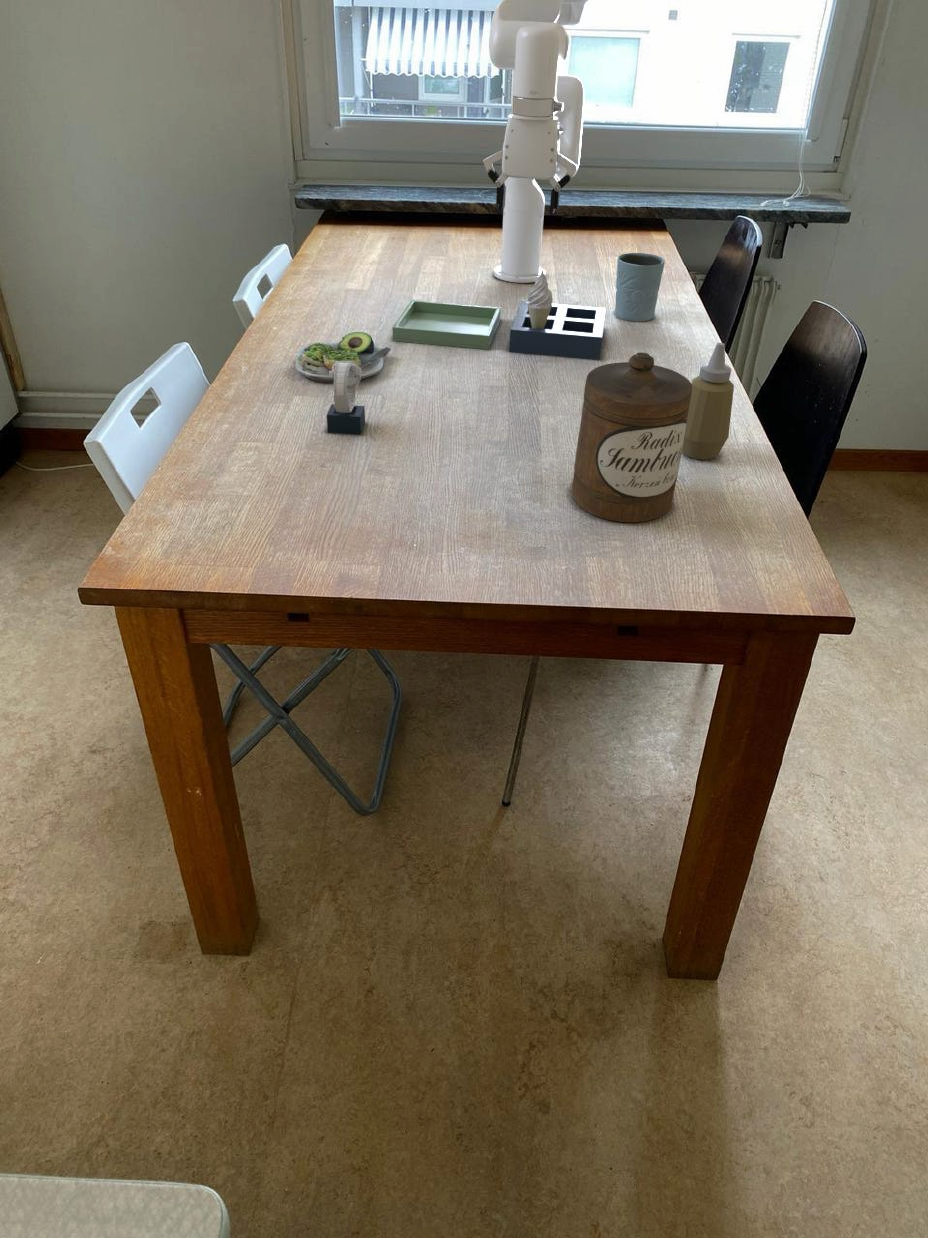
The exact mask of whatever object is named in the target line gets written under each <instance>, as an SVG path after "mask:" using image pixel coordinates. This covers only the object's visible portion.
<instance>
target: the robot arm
mask: <svg viewBox="0 0 928 1238" xmlns="http://www.w3.org/2000/svg"><path fill="white" fill-rule="evenodd" d="M590 3H591V0H501V1H500V2H499V3H498V5H497V6H496V8H495V9H494V12H493V14H492V17H491V22H490V31H489V39H488V40H489V41H488V49H489V50H488V53H489V58H490V61H491V63H492V65H493V66H494V67H495V68H497V69H499V70H505V71H512V86H511V112H512V114H509V115H508V117H507V123H506V127H505V131H504V132H505V133H504V139H503V143H502V150H500V151H497V152H495V153H494V154H492V155H489V156H488V157H486V158H484V159H483V161H482V163H483V165H484V168H485V171H486V173H487V176H488V177H489V179H490V180H491V181H492V182H493V184H494V186H495V187H496V195H495V196H496V197H495V204H496V205H497V206H498V211H500V212H501V211H503V212H502V213H503V214H502V232H501V252H500V253H501V254H500V265H498V266H496V267H494V269H493V275H494V277H495V278H497V279H499V280H502V281H505V282H509V283H517V284H518V283H519V284H530V283H535V282H536V281H537V280H538V278H539V276H540V274H541V271H542V269H543V272H544V275H545V277H546V274H547V271H546V270H545V269H544V268H542V267H541V257H542V243H543V242H542V241H543V231H544V216H545V204H546V203H545V195H544V192H543V190H542V188H541V187H540V186H539V185H538V183H537V182H536V180H543V181H545V180H547V181H548V182H549V184H550V185H551V187H552V190H551V192H550V202H549V203H550V204H549V214H550V215H554V214H555V211H556V210H558V209H559V205H560V194H561V190H562V189H563V188H564V187H565V186H566V185H568V184H569V182H570V181H571V179H572V178H573V177H575V176H576V175H577V173H578V171H579V166H580V160H581V150H582V136H583V124H584V113H585V112H584V111H585V89H584V84H583V82H582V80H581V79H580V78H579V77H577V76H576V75H570V74H558V70H561V68H562V67H563V65H564V64H565V62H567V60H568V57H569V51H570V37H569V34H568V33H567V31H566V27H574V26H575V27H576V26H580V25H581V24H582V23H584V21H585V20H586V18H587V16H588V13H589V7H590ZM560 127H561V129H562V131H560ZM498 161H501V172H502V173H501V175H499V173H498V172H497V171H496V170H495V167H494V163H497V162H498Z"/></svg>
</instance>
